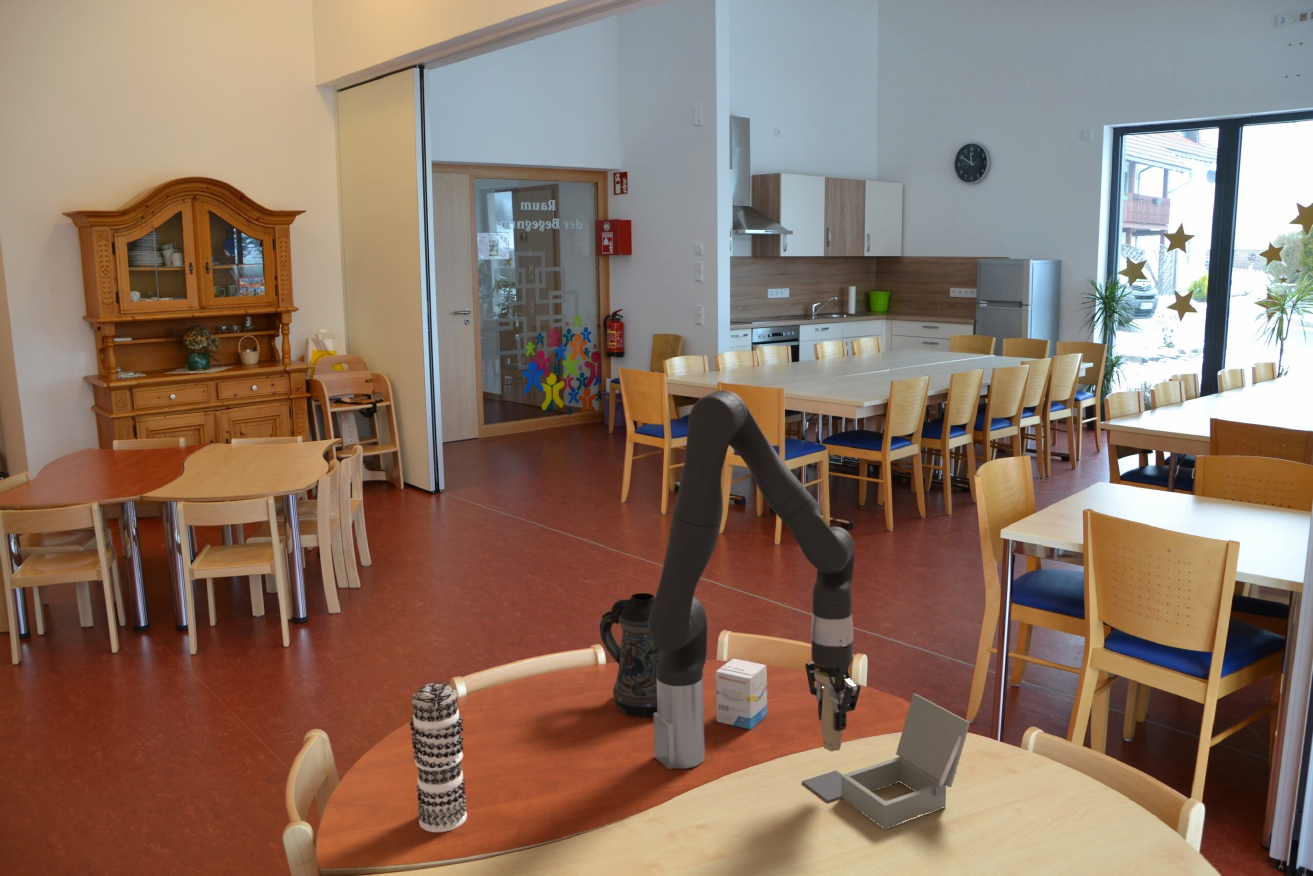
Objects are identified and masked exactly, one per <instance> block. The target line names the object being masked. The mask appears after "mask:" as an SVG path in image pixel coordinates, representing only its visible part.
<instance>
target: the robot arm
mask: <svg viewBox="0 0 1313 876" xmlns="http://www.w3.org/2000/svg"><path fill="white" fill-rule="evenodd" d="M689 412H690V413H689V416H688V423H687V435H686V436H687V437H686V444H685V445H686V447H685V454H684V455H685V456H684V464H683V469H682V472H681V473H682V474H681V477H680V481H679V485H678V490H677V495H676V501H675V504H674V508H673V511H672V512H673V513H672V516H671V522H670V527H669V528H670V529H669V534H668V541H667V545H666V550H665V554H664V559H663V566H662V572H661V576H660V580H659V584H658V587H657V591H656V594H655V596H654V597H655V600H654V603H653V606H652V609H651V612H650V616H649V621H648V629H649V634H650V637H651V639H652V641H653V643H654V644H655V645H656V646H657V647H658V648H659V649H661V650H663V653H662V655H661V657H660V659H659V661H658V663H657V666H656V677H657V712H655V713H654V718H653V740H654V741H653V742H654V744H653V745H654V746H653V747H654V758H655V759H656V760H658V761H659V762H660V763H661V764H662V765H663V766H664V767H665V768H666V769H668V770H672V769H689V768H690V769H691V768H695V767H697V766H699V765H700V764H702V763H703V762H704V761H705V750H706V749H705V748H706V747H705V711H704V709H705V708H704V707H705V706H704V704H705V703H704V667H705V664H706V661H707V657H708V655H707V653H708V651H707V650H708V620H707V614H706V610H705V608H704V606H703V605H702V603H701V601H700V600H699V599H698V598H696V596H695V592H696V589H697V585H698V584H699V581H700V579H701V578H702V575H703V574H704V572H705V570H706V568H707V565H708V564H709V562H710V560H711V558H712V555H713V553H714V551H715V549H716V546H717V543H718V540H719V539H718V538H719V534H720V529H721V525H722V520H723V511H724V502H723V501H724V499H723V491H722V490H723V489H722V473H723V469H724V467H723V466H724V464H725V459H726V456H727V453H728V450H729V446H730V447H731V448H732V449H733V450H734V451H735V452H736V454H738V455H739V457H740V458H741V460H742V461H743V462H744V463H745V465H746V467H747V468H748V469H749V471H750V474H751V475H752V477H753V479H754V481H755V484H756V486H757V487H758V490H759V492H760V493H761V495H762V497H763V499H764V500H765V502H766V503H767V504H768V505H769V507H770V508H771V509H772V511H773V512H774V513H775V514H776V515H777V516H778V518H779V519H780V520H781V521H782V522H783V524H785V526H786V527H787V528H789V530H790V532H791V534H792V536H793V538H794V540H795V541H796V543H797V544H798V547H799V549H801V551H802V554H804V556H805V558H806V559H807V560H808V562H809V563H810V564H811V565H812V566H813V567H814V568H815V569H816V579H815V582H814V584H813V589H812V618H811V624H810V625H811V627H810V629H811V632H810V633H811V634H810V636H811V637H810V638H811V643H810V645H811V647H810V648H811V654H810V655H811V657H810V658H811V662H810V661H809V662H807V663H805V665H804V668H805V671H806V676H807V682H808V686H809V692H810V695H812V696H815V698H816V701H817V707H818V708H817V714H818V720H819V721H820V722H821V715H822V700H823V684H822V683H821V682H819V681H817V680H816V679H815V675H814V671H815V669H816V668H819V669H820V671H819V672H820V673H822V672H826V673H827V674H829V675H828V676H827V677H828V684H829V685H828V688H829V694H830V699H831V700H833V705H834V710H835V711H834V730H836V731H841V730H843V731H844V730H845V729H846V728H847V713H848V712H852V711H855V710H856V706H857V704H858V699H859V696H860V691H861V687H862V686H861V684H860V683H854V682H853V680H851V673H850V674H849V671H850V670H849V669H850V668H849V667H850V666H851V664H852V663H853V660H854V624H853V623H854V622H853V615H852V614H853V607H852V606H853V605H852V604H853V602H852V597H853V596H852V580H853V573H854V565H855V554H856V553H855V551H856V549H855V541H854V540H853V537H852V535H851V534H850V533H849V532H848V531H847V530H846V529H844V528H843V527H839V526H829V525H828V523H827V521H826V520H825V519H824V518H823V516H822V508H821V506H820V505H819V503H818V502H817V500H816V499H815V498H814V497H813V496H812V494H811V493H810V492H809V491H808V489H807V488H806V487H805V486H804V485H803V484H802V483H801V481H800V480H799V479H798V478H797V476H795V473H793V472H792V471H791V470H790V468H789V467H788V466H787V464H786V463H785V461H783V459H782V458H781V456H780V455H779V454H778V452H776V449H775V448H774V446H773V445H772V444H771V442H770V441H769V439H768V438H767V436H766V435H765V433H764V432H763V430H762V429H761V427H760V426H759V424H758V422H757V420H756V419H755V418H754V415H753V414H752V412H751V411H750V409H749V408H748V406H747V404H746V403H745V402H744V400H743V399H742V397H740V395H738V394H737V393H735V392H733V391H731V390H726V389H725V390H722V389H721V390H717V391H714V392H711V393H709V394H707V395H704V396H702V397H701V398H699V399H698V400H697V401H696V402H695V403H694V405H693V406H692V408H691V410H690V411H689ZM831 677H835V684H834V683H833V680H832V678H831ZM815 682H816V683H815ZM840 691H841V693H839V694H836V692H840ZM839 699H842V703H841V705H839Z"/></svg>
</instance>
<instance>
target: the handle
mask: <svg viewBox="0 0 1313 876" xmlns="http://www.w3.org/2000/svg"><path fill="white" fill-rule="evenodd" d="M819 671H820V669H819V668H816V669H815V671H814V675H815V679H816V680H817V681H819V682H821V683H822V684H823V700H822V715H821V721H820V722H821V723H820V724H821V735H822V740H823V742H822V744H823V745H822V746H823V749H825V750H827V751H829V752H834V751H840V750H841V746H842V739H843V733H844V732H843V731H844V730H841V731H836V730H834V711H835V710H834V705H833V700H831V699H830V694H829V688H828V685H829V684H828V677H827V676H828V675H829V674H827V673H826V672H822V673H820V672H819ZM849 674H850V675H851V672H850V670H849ZM831 678H832V680H833V683H834V684H835V677H831ZM817 681H816V682H817ZM841 692H842V691H840V692H836V694H839V693H841ZM841 703H842V699H839V705H841Z"/></svg>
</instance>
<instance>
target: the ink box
mask: <svg viewBox="0 0 1313 876" xmlns="http://www.w3.org/2000/svg"><path fill="white" fill-rule="evenodd" d="M714 674H715V695H716V696H715V698H716V699H715V703H716V722H718V723H721V724H726V725H730V726H734V727H738V728H739V727H740V728H743V729H747V730H752V729H753V728H755V726H756V725H758V724H759V723H760V722H761V721H762V720H763V719H764V718H766V717H767V716H768V680H767V679H768V678H767V665H766V664H762V663H757V662H753V661H748V660H744V659H743V660H742V659H738V658H732V659H731V660H729V661H728V662H727V663H725V664H724V665H722V666H721V667H720V668H718V669H717V670H716V671H715V673H714Z"/></svg>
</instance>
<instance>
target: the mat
mask: <svg viewBox="0 0 1313 876" xmlns="http://www.w3.org/2000/svg"><path fill="white" fill-rule="evenodd" d="M841 775H843V774H842V773H840V772H839V771H838V770H833V771H829V772H827V773H823V774H820V775H817V776H814V777H811V778H808V779H803V780H802V781H801V783H802V784H803V783H804V784H805V785H806V786H805V785H804V784H803V785H804V786H805V787H807V786H808V787H809V788H810V789H809V788H808V787H807V788H808V789H809V790H811V789H812V790H813V791H814V792H813V791H812V790H811V791H812V792H813V793H815V794H816V793H817V794H818V795H817V794H816V795H817V796H819V797H820V798H821V797H822V798H821V799H823V800H824V801H825V802H827V803H830V802H834V801H836V799H837V800H840V799H842V798H841ZM839 798H840V799H839ZM833 800H834V801H833Z"/></svg>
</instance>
